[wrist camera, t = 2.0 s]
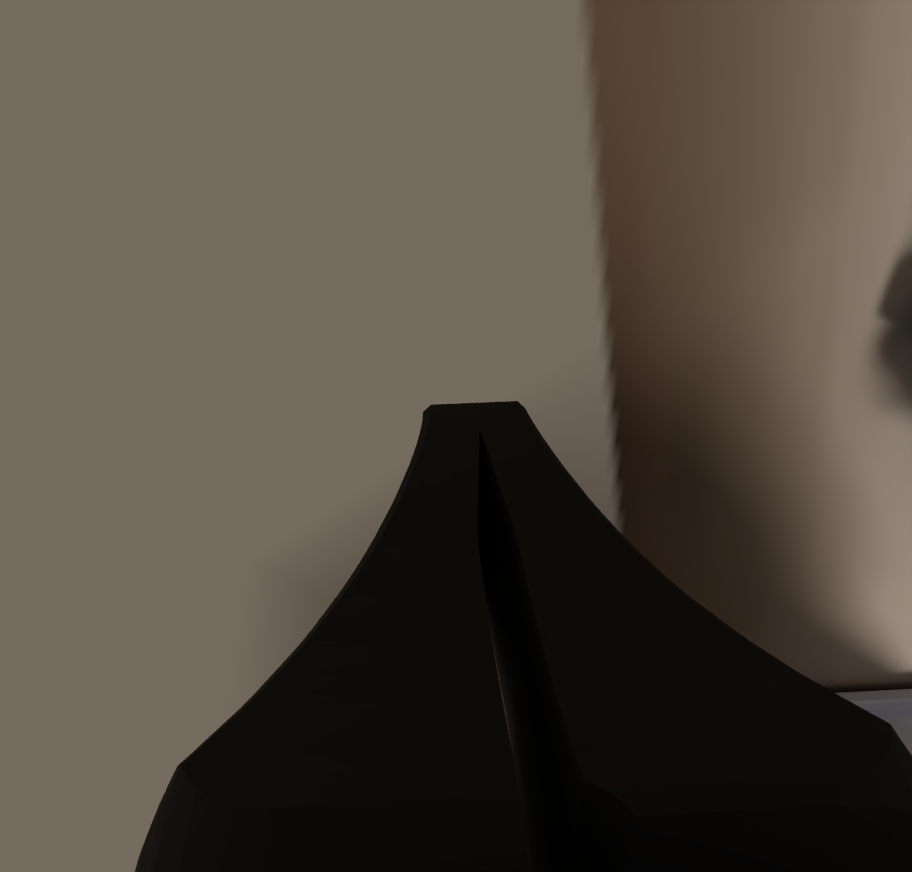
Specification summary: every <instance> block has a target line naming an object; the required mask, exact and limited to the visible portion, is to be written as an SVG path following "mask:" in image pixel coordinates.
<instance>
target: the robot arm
mask: <svg viewBox="0 0 912 872" xmlns="http://www.w3.org/2000/svg"><path fill="white" fill-rule="evenodd" d="M491 636H492V637H491ZM492 641H493V644H492ZM493 646H494V650H493ZM494 651H495V656H496V662H497V666H498V671H499V676H500V681H501V687H502V692H503V696H504V702H505V707H506V713H507V720H508V726H509V733H510V740H511V745H510V740H509V735H508V730H507V724H506V719H505V713H504V708H503V703H502V698H501V692H500V686H499V680H498V674H497V668H496V662H495V656H494ZM511 750H512V751H511ZM135 872H912V689H899V690H879V691H860V692H840V693H834V692H832V691H830V690H828V689H827V688H825V687H823V686H821V685H819V684H817V683H816V682H814V681H812V680H810V679H808V678H807V677H805V676H803V675H802V674H800V673H798V672H797V671H795V670H794V669H792V668H791V667H789V666H787V665H786V664H784V663H783V662H781V661H780V660H778V659H777V658H775V657H773V656H772V655H770V654H769V653H767V652H766V651H764V650H762V649H761V648H759V647H758V646H756V645H755V644H753V643H752V642H750V641H749V640H747V639H746V638H745V637H743V636H742V635H740V634H739V633H737V632H736V631H735V630H733V629H732V628H731V627H729V626H728V625H727V624H725V623H724V622H723V621H721V620H720V619H719V618H717V617H716V616H714V615H713V614H712V613H710V612H709V611H708V610H706V609H705V608H704V607H702V606H701V605H700V604H698V603H697V602H696V601H694V600H693V599H692V598H690V597H689V596H688V595H687V594H686V593H684V592H683V591H682V590H681V589H680V588H679V587H677V586H676V585H675V584H674V583H673V582H671V581H670V580H669V579H668V578H667V577H666V576H665V575H663V574H662V573H661V572H660V571H659V570H658V569H657V568H656V567H655V566H654V565H652V564H651V563H650V562H649V561H648V560H647V559H646V558H645V557H644V556H643V555H642V554H641V553H640V552H639V551H638V550H637V549H636V548H635V547H634V546H633V545H632V544H631V543H630V542H629V541H628V540H627V539H626V538H625V537H624V536H623V535H622V534H621V533H620V532H619V531H618V530H617V529H616V528H615V527H614V526H613V525H612V523H611V522H610V521H609V520H608V519H607V518H606V517H605V516H604V515H603V514H602V513H601V511H600V510H599V509H598V508H597V507H596V506H595V505H594V504H593V502H592V501H591V500H590V499H589V498H588V496H587V495H586V494H585V493H584V491H583V490H582V489H581V488H580V486H578V484H577V483H576V482H575V481H574V479H573V478H572V476H571V475H570V474H569V473H568V471H567V470H566V469H565V468H564V466H563V465H562V464H561V462H560V461H559V460H558V458H557V457H556V455H555V454H554V453H553V451H552V450H551V449H550V447H549V446H548V444H547V443H546V441H545V440H544V438H543V437H542V435H541V434H540V432H539V431H538V430H537V428H536V426H535V425H534V423H533V421H532V420H531V418H530V416H529V415H528V413H527V411H526V409H525V408H524V407H523V406H522V405H521V404H520V403H519V402H518V401H511V402H487V403H462V404H439V405H430V406H429V407H428V408H427V409H426V410H425V411H424V412H423V421H422V426H421V431H420V435H419V438H418V442H417V445H416V448H415V451H414V454H413V457H412V459H411V462H410V465H409V467H408V469H407V472H406V474H405V476H404V479H403V481H402V484H401V486H400V489H399V490H398V493H397V495H396V497H395V499H394V502H393V504H392V506H391V507H390V509H389V511H388V513H387V515H386V517H385V519H384V521H383V523H382V524H381V526H380V528H379V530H378V532H377V534H376V536H375V538H374V540H373V541H372V543H371V545H370V546H369V548H368V550H367V552H366V553H365V555H364V556H363V558H362V560H361V561H360V563H359V564H358V566H357V568H356V569H355V571H354V572H353V574H352V575H351V577H350V578H349V580H348V581H347V583H346V584H345V586H344V587H343V589H342V590H341V591H340V593H339V594H338V596H337V597H336V598H335V600H334V601H333V602H332V604H331V605H330V606H329V608H328V609H327V610H326V612H325V613H324V615H323V616H322V617H321V618H320V620H319V621H318V622H317V624H316V625H315V626H314V627H313V629H312V630H311V631H310V632H309V634H308V635H307V636H306V638H305V639H304V640H303V641H302V642H301V643H300V645H299V646H298V647H297V648H296V649H295V650H294V651H293V653H292V654H291V655H290V656H289V657H288V658H287V660H285V661H284V662H283V663H282V665H281V666H280V667H279V668H278V669H277V670H276V671H275V672H274V673H273V674H272V675H271V677H270V678H269V679H268V680H267V681H266V682H265V683H264V684H263V685H262V686H261V687H260V689H259V690H258V691H257V692H256V693H255V694H254V695H253V696H252V697H251V698H250V699H249V700H248V701H247V702H246V703H245V704H244V705H243V706H242V707H241V708H240V709H239V710H238V711H237V712H236V713H235V714H234V715H233V716H232V717H230V718H229V719H228V720H227V721H226V722H225V723H224V724H223V725H222V726H221V727H220V728H219V729H218V730H216V731H215V732H214V733H213V734H212V735H211V736H210V737H209V738H208V739H207V740H206V741H205V742H203V743H202V744H201V745H200V746H199V747H198V748H197V749H196V750H195V751H194V752H193V753H192V754H191V755H189V756H188V757H187V758H186V759H185V760H184V761H182V762H181V763H180V764H179V765H178V766H177V769H176V770H175V772H174V774H173V776H172V779H171V780H170V783H169V785H168V787H167V789H166V792H165V794H164V796H163V798H162V800H161V802H160V804H159V807H158V809H157V812H156V814H155V817H154V819H153V821H152V824H151V826H150V829H149V832H148V834H147V837H146V840H145V842H144V845H143V848H142V850H141V853H140V856H139V859H138V862H137V866H136V870H135Z"/></svg>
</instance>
